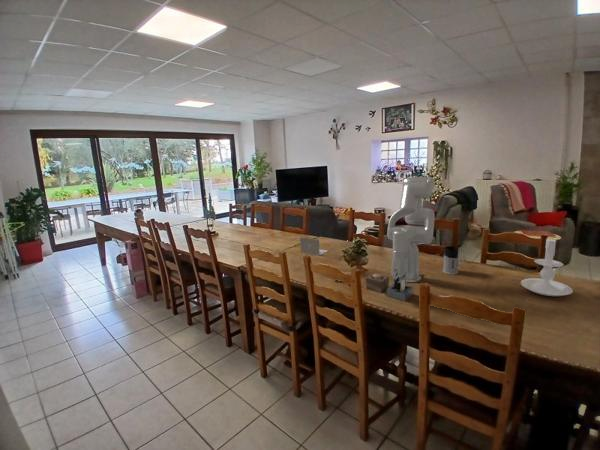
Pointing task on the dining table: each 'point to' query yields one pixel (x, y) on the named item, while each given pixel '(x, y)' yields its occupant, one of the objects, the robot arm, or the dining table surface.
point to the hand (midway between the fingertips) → (400, 287)
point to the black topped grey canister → (451, 260)
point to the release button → (377, 276)
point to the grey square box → (377, 283)
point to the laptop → (311, 246)
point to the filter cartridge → (402, 283)
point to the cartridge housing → (400, 293)
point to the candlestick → (547, 275)
